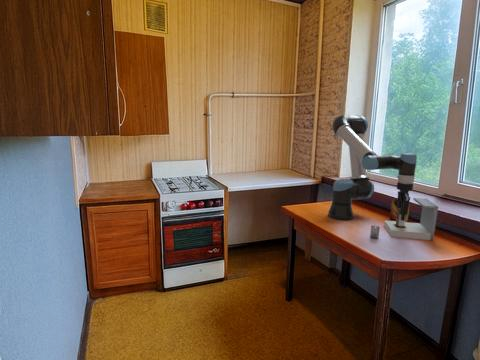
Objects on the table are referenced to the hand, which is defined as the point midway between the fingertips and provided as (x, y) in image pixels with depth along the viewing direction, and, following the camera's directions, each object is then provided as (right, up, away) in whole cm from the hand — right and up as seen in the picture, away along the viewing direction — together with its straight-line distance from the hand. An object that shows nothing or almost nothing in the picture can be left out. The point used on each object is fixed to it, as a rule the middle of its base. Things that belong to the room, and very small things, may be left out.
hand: (400, 224), depth 163 cm
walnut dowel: (0, -3, +1) cm, 3 cm away
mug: (+10, -1, +18) cm, 21 cm away
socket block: (+4, -5, 0) cm, 6 cm away
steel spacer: (-17, -6, -7) cm, 20 cm away
